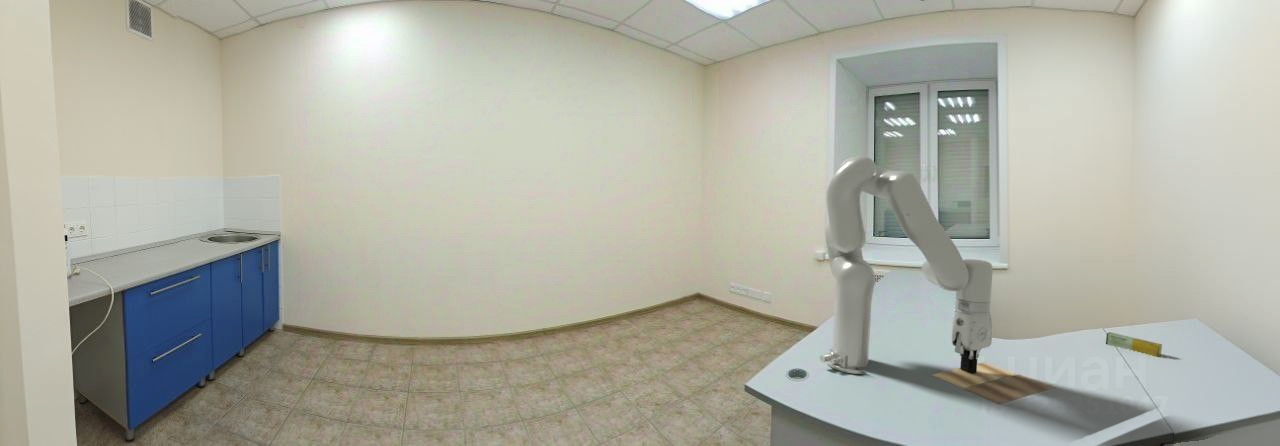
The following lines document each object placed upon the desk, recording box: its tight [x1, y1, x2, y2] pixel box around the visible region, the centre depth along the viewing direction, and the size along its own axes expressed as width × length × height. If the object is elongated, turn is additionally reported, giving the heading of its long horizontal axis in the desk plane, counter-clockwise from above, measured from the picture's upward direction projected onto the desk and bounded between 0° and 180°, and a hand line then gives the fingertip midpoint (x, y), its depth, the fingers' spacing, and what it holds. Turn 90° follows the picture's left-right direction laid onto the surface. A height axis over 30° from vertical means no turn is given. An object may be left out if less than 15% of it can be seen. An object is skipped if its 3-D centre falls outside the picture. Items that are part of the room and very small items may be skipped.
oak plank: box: [931, 361, 1016, 389], centre depth 120 cm, size 22×8×1 cm, turn 113°
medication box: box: [1105, 331, 1163, 358], centre depth 142 cm, size 12×3×4 cm, turn 25°
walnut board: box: [963, 373, 1055, 405], centre depth 113 cm, size 23×8×2 cm, turn 113°
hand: (968, 371), depth 122 cm, fingers closed
